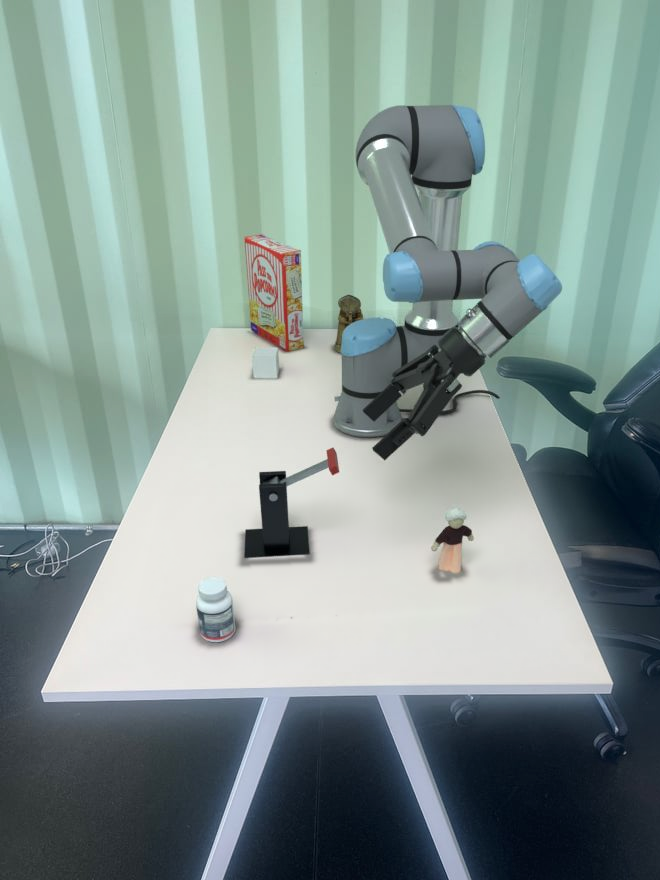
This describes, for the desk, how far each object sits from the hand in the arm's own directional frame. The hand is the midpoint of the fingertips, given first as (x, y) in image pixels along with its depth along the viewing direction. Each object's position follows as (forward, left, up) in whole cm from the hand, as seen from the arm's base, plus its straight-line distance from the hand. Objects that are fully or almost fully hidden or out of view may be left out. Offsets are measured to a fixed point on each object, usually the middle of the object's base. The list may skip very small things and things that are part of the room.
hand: (372, 434), depth 122 cm
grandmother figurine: (-12, +10, -22) cm, 27 cm away
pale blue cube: (+19, -78, -22) cm, 83 cm away
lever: (+11, 0, -8) cm, 14 cm away
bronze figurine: (-4, -92, -22) cm, 95 cm away
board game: (+16, -103, -22) cm, 107 cm away
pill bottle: (+26, +21, -22) cm, 39 cm away
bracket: (+17, 0, -21) cm, 27 cm away
